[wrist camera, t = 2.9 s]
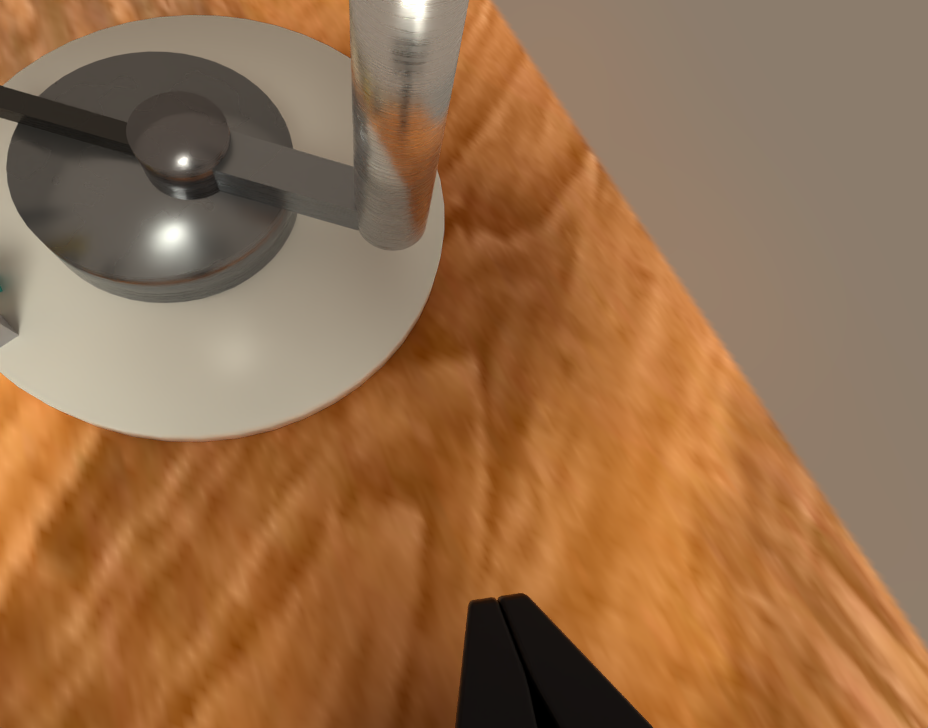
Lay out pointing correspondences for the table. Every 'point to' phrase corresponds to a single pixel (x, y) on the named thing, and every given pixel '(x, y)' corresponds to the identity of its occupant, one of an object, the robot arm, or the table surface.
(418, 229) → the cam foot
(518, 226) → the table surface
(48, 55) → the stand
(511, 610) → the robot arm
